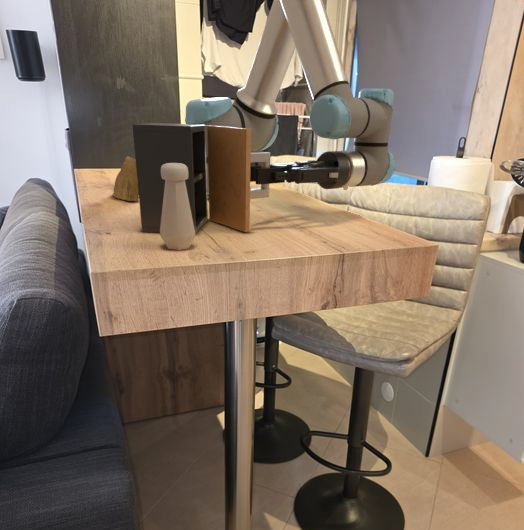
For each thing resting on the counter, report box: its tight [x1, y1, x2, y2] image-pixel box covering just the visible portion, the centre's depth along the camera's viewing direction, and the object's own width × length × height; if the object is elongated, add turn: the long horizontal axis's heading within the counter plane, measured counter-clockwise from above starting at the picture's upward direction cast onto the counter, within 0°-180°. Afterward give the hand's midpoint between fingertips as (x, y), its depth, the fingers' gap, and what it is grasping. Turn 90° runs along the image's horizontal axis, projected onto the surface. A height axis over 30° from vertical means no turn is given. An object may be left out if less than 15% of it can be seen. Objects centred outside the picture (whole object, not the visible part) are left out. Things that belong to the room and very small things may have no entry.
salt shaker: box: [159, 163, 196, 251], centre depth 73 cm, size 6×6×13 cm
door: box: [207, 126, 271, 233], centre depth 88 cm, size 7×13×18 cm, turn 37°
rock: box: [111, 155, 139, 202], centre depth 113 cm, size 11×9×10 cm
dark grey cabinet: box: [131, 122, 209, 235], centre depth 86 cm, size 10×13×18 cm
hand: (251, 175), depth 85 cm, fingers open, 3 cm apart
